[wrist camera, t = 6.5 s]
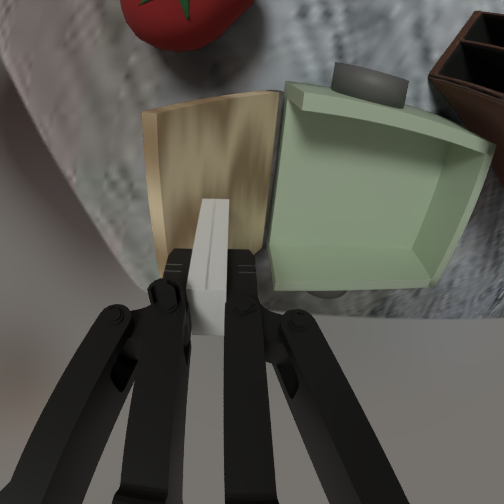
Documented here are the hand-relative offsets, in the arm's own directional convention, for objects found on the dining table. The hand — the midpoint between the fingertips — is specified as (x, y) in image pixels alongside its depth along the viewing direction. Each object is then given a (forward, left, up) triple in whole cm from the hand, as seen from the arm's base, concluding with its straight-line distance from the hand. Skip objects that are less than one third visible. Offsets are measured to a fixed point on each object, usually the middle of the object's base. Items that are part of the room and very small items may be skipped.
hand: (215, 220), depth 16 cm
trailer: (0, +11, -8) cm, 14 cm away
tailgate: (0, +3, -7) cm, 7 cm away
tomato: (-13, -3, -8) cm, 15 cm away
